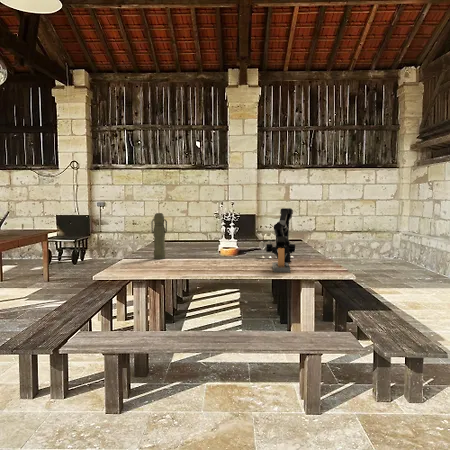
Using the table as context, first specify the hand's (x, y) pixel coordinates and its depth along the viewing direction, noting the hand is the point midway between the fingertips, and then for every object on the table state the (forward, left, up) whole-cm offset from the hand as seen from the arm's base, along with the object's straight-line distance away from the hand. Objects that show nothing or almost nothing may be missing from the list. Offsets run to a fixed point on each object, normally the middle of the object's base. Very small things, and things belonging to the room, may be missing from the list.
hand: (281, 258), depth 258 cm
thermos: (-93, -39, -8) cm, 101 cm away
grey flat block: (-1, +1, -7) cm, 8 cm away
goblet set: (-43, +37, -8) cm, 57 cm away
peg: (-1, +1, -7) cm, 7 cm away
